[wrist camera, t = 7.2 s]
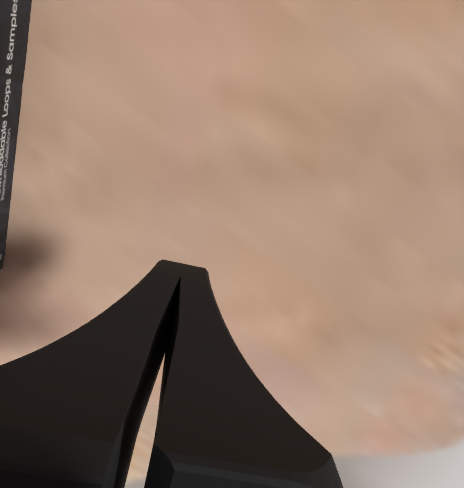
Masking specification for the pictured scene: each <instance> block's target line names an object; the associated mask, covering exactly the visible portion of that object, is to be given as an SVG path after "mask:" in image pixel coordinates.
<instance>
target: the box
mask: <svg viewBox="0 0 464 488" xmlns="http://www.w3.org/2000/svg"><path fill="white" fill-rule="evenodd" d="M31 2H32V0H0V272H1V270H2V267H3V261H4V255H5V246H6V237H7V228H8V219H9V209H10V200H11V190H12V180H13V171H14V162H15V153H16V143H17V133H18V125H19V115H20V107H21V96H22V84H23V78H24V70H25V62H26V52H27V42H28V32H29V22H30V12H31Z"/></svg>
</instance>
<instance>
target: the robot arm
mask: <svg viewBox="0 0 464 488" xmlns="http://www.w3.org/2000/svg"><path fill="white" fill-rule="evenodd" d="M164 354H165V359H164V367H163V375H162V384H161V392H160V401H159V409H158V418H157V425H156V432H155V438H154V443H153V448H152V453H151V458H150V462H149V467H148V472H147V477H146V481H145V486H144V488H343V486H342V482H341V479H340V477H339V474H338V471H337V469H336V465H335V463H334V460H333V457H332V455H331V453H329V452H328V451H327V450H326V449H325V448H324V447H323V446H322V445H321V444H320V443H319V442H317V441H316V440H315V439H314V438H313V437H312V436H311V435H310V434H309V433H308V432H306V431H305V430H304V429H303V428H302V427H301V426H300V425H299V424H298V423H297V422H296V421H295V420H294V419H293V418H292V417H291V416H290V415H289V414H288V413H287V412H286V411H285V410H284V409H283V408H282V407H281V405H280V404H279V403H278V402H277V401H276V400H275V399H274V398H273V396H272V395H271V394H270V393H269V391H268V390H267V389H266V388H265V387H264V385H263V384H262V383H261V382H260V380H259V379H258V378H257V377H256V375H255V374H254V372H253V371H252V369H251V368H250V367H249V365H248V364H247V362H246V360H245V359H244V357H243V356H242V354H241V353H240V351H239V349H238V347H237V346H236V344H235V342H234V340H233V338H232V336H231V334H230V332H229V330H228V328H227V326H226V324H225V322H224V320H223V318H222V315H221V313H220V310H219V308H218V305H217V303H216V300H215V297H214V294H213V291H212V288H211V284H210V280H209V275H208V272H207V270H206V269H205V268H201V267H196V266H191V265H187V264H182V263H177V262H172V261H167V260H161V261H159V262H158V263H157V264H156V265H155V266H154V268H153V269H152V270H151V271H150V272H149V273H148V274H147V275H146V276H145V277H144V278H143V279H142V280H141V281H140V282H139V283H138V284H137V285H136V286H135V287H133V288H132V289H131V290H130V291H129V292H128V293H127V294H126V295H124V296H123V297H122V298H121V299H119V300H118V301H117V302H116V303H114V304H113V305H112V306H110V307H109V308H108V309H107V310H105V311H104V312H103V313H101V314H100V315H98V316H97V317H95V318H94V319H92V320H91V321H89V322H88V323H86V324H85V325H83V326H81V327H80V328H78V329H76V330H75V331H73V332H71V333H69V334H68V335H66V336H64V337H62V338H60V339H59V340H57V341H55V342H53V343H51V344H49V345H47V346H45V347H43V348H41V349H39V350H37V351H34V352H32V353H30V354H27V355H25V356H23V357H20V358H18V359H15V360H13V361H10V362H8V363H5V364H3V365H0V488H124V486H125V482H126V478H127V474H128V470H129V466H130V462H131V458H132V454H133V450H134V446H135V442H136V438H137V434H138V431H139V428H140V424H141V421H142V418H143V415H144V412H145V409H146V407H147V404H148V401H149V398H150V395H151V392H152V389H153V386H154V383H155V381H156V378H157V375H158V372H159V369H160V366H161V363H162V360H163V357H164Z"/></svg>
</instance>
